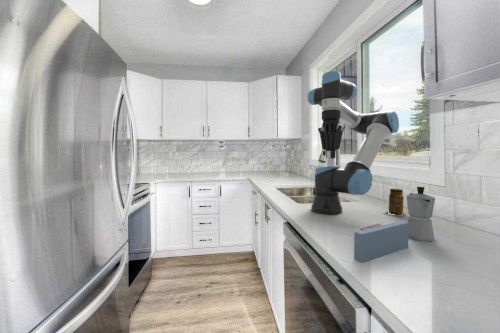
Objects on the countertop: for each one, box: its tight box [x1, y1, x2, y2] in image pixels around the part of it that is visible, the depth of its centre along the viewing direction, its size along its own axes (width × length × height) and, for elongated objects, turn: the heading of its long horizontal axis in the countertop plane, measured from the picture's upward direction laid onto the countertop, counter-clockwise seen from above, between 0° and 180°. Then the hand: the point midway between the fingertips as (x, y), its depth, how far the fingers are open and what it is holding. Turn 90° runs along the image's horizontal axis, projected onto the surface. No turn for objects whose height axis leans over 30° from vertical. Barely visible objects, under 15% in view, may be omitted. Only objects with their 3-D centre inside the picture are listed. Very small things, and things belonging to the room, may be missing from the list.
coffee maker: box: [406, 186, 436, 243], centre depth 87 cm, size 15×9×18 cm, turn 168°
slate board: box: [353, 220, 409, 263], centre depth 74 cm, size 22×2×8 cm, turn 118°
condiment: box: [383, 188, 404, 217], centre depth 119 cm, size 7×8×12 cm
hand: (330, 166), depth 105 cm, fingers closed
